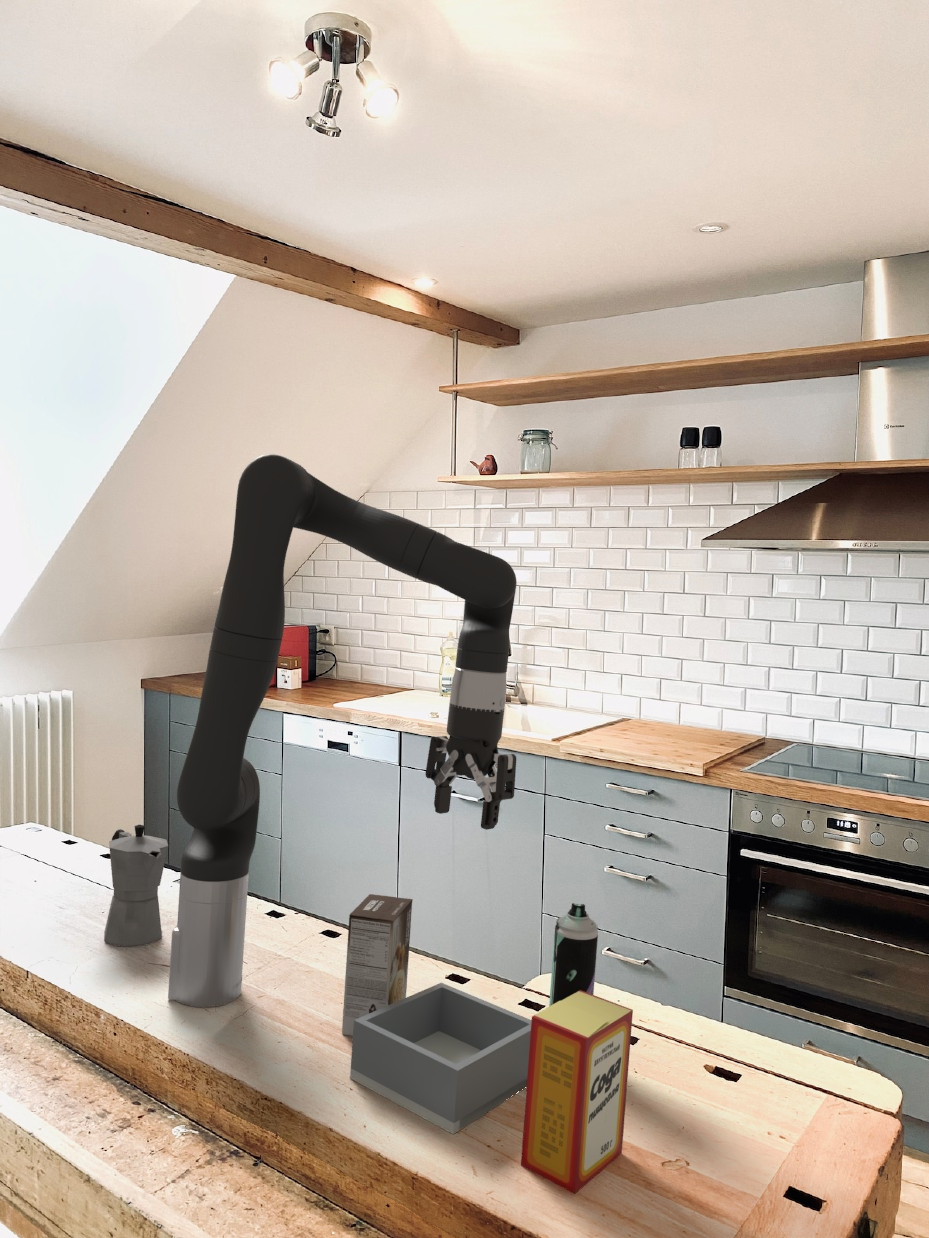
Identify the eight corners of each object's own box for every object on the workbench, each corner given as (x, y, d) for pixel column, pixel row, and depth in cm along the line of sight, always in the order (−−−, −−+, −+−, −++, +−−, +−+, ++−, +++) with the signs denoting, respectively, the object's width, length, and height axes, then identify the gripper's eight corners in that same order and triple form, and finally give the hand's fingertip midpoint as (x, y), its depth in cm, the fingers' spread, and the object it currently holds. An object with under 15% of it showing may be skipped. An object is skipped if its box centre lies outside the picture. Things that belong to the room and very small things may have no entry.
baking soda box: (569, 1128, 105) (580, 986, 105) (621, 1153, 101) (633, 1006, 100) (520, 1165, 98) (532, 1012, 97) (574, 1193, 94) (586, 1035, 93)
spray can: (560, 1072, 117) (572, 913, 117) (537, 1051, 122) (548, 898, 121) (596, 1064, 120) (608, 909, 119) (572, 1044, 125) (583, 895, 124)
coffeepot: (180, 943, 149) (187, 830, 149) (122, 956, 143) (129, 838, 142) (137, 914, 160) (143, 809, 160) (81, 925, 154) (87, 815, 153)
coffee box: (361, 1005, 132) (369, 891, 131) (406, 1012, 131) (414, 898, 130) (340, 1035, 123) (348, 913, 122) (387, 1043, 122) (396, 920, 121)
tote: (349, 1077, 112) (353, 1019, 112) (437, 1034, 125) (441, 982, 125) (453, 1133, 102) (457, 1070, 102) (537, 1080, 115) (541, 1024, 114)
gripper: (421, 694, 130) (408, 810, 131) (499, 712, 121) (485, 837, 121) (457, 694, 136) (445, 805, 137) (535, 711, 126) (522, 830, 127)
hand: (464, 820), depth 129 cm, fingers open, 8 cm apart
